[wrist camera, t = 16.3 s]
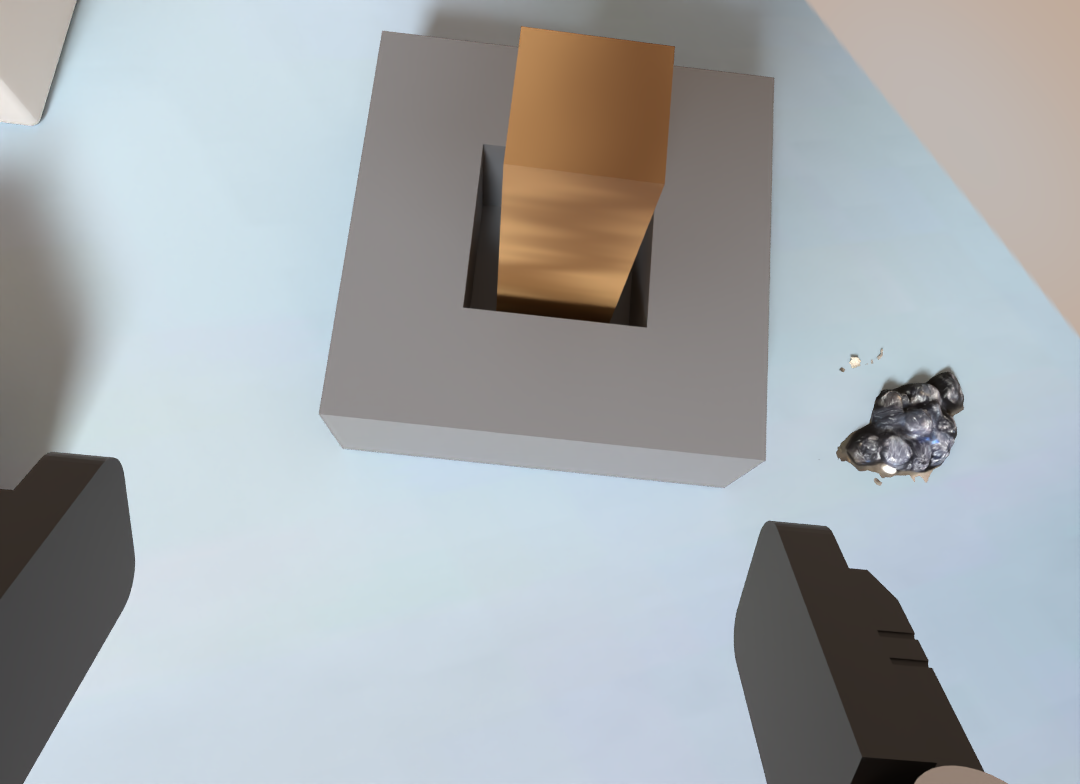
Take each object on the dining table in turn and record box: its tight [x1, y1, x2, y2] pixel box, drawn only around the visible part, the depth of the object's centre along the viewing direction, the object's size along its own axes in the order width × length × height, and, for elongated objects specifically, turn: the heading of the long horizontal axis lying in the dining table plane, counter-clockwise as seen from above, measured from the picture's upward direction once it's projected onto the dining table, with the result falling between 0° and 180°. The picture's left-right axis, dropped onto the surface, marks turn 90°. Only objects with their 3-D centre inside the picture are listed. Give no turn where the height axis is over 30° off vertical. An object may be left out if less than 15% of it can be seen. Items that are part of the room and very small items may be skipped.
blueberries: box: [836, 349, 964, 485], centre depth 34 cm, size 7×8×2 cm
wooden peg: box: [496, 26, 675, 324], centre depth 29 cm, size 4×4×12 cm
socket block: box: [319, 31, 774, 488], centre depth 32 cm, size 14×14×5 cm
